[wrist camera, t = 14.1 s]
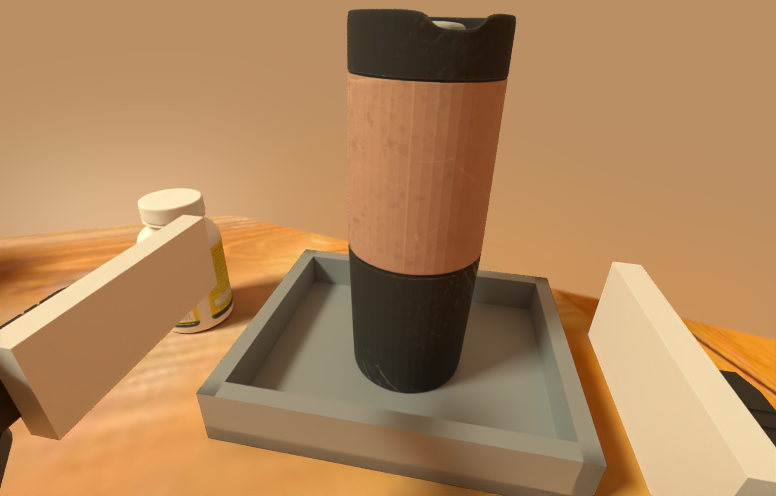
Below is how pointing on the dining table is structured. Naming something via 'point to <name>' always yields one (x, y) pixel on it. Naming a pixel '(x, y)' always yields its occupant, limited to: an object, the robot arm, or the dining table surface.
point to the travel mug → (419, 184)
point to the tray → (418, 410)
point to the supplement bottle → (219, 301)
